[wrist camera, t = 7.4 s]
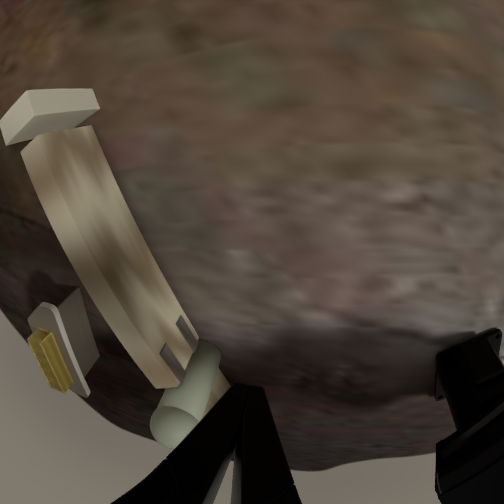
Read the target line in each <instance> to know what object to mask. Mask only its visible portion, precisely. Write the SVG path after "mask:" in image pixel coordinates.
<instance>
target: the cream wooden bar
mask: <svg viewBox="0 0 504 504" xmlns="http://www.w3.org/2000/svg"><path fill="white" fill-rule="evenodd" d="M21 155H22V158H23V161H24V163H25V166H26V169H27V171H28V174H29V176H30V179H31V181H32V184H33V186H34V188H35V191H36V193H37V195H38V198H39V200H40V202H41V204H42V207H43V209H44V211H45V213H46V215H47V217H48V220H49V222H50V224H51V226H52V228H53V230H54V232H55V234H56V236H57V238H58V240H59V242H60V244H61V246H62V248H63V249H64V251H65V253H66V255H67V257H68V259H69V261H70V262H71V264H72V266H73V268H74V270H75V271H76V273H77V275H78V277H79V278H80V280H81V282H82V283H83V285H84V287H85V288H86V290H87V292H88V293H89V295H90V297H91V298H92V300H93V302H94V303H95V305H96V306H97V308H98V309H99V311H100V313H101V314H102V316H103V317H104V319H105V320H106V322H107V323H108V325H109V326H110V328H111V329H112V331H113V332H114V333H115V335H116V336H117V338H118V339H119V341H120V342H121V343H122V345H123V346H124V348H125V349H126V350H127V352H128V353H129V355H130V356H131V357H132V359H133V360H134V361H135V363H136V364H137V365H138V367H139V368H140V369H141V370H142V372H143V373H144V374H145V376H146V377H147V378H148V379H149V381H150V382H151V383H152V384H153V386H154V387H155V388H156V389H158V388H171V387H178V386H179V384H180V383H182V382H183V380H184V377H185V375H186V371H185V369H186V367H187V364H188V362H189V360H190V357H191V355H192V353H194V352H195V351H196V348H197V346H198V344H199V343H198V339H199V336H198V335H197V333H196V331H195V330H194V328H193V326H192V325H191V323H190V321H189V320H188V318H187V316H186V315H185V313H184V311H183V309H182V308H181V306H180V304H179V303H178V301H177V299H176V297H175V296H174V294H173V292H172V290H171V289H170V287H169V285H168V283H167V281H166V280H165V278H164V276H163V274H162V272H161V271H160V269H159V267H158V265H157V263H156V261H155V259H154V258H153V256H152V254H151V252H150V250H149V248H148V246H147V244H146V242H145V240H144V238H143V236H142V234H141V232H140V231H139V229H138V227H137V225H136V223H135V221H134V219H133V216H132V214H131V212H130V210H129V208H128V206H127V204H126V202H125V200H124V198H123V196H122V194H121V191H120V189H119V187H118V185H117V183H116V181H115V178H114V176H113V174H112V172H111V170H110V167H109V165H108V163H107V160H106V158H105V156H104V154H103V151H102V149H101V146H100V144H99V142H98V139H97V137H96V134H95V132H94V130H93V127H92V125H90V126H84V127H78V128H72V129H66V130H61V131H55V132H50V133H45V134H41V135H37V136H36V137H35V138H34V139H33V140H32V141H31V142H30V143H29V144H28V145H27V146H26V147H25V148H24V149H23V150H22V151H21Z"/></svg>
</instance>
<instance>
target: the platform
mask: <svg viewBox="0 0 504 504" xmlns="http://www.w3.org/2000/svg"><path fill="white" fill-rule="evenodd" d="M28 322H29V325H30V327H31V330H32V332H33V333H32V335H31V336H30V337H29V338H28V339H27V340H28V343H29V345H30V347H31V349H32V351H33V350H34V349H35V348H36V347H37V348H36V349H35V350H34V351H33V353H34V356H35V358H36V360H37V362H38V364H39V366H40V368H41V370H42V372H43V374H44V376H45V377H46V379H47V381H48V383H49V385H50V387H51V388H53V389H55V390H57V391H60V390H61V389H62V390H61V391H60V392H62V393H64V394H65V392H66V391H67V389H68V388H69V389H70V390H72V391H73V392H75V393H76V394H78V395H81V396H83V397H86V398H87V397H88V396H89V394H90V390H89V388H88V385H87V383H86V381H85V379H84V378H85V376H86V375H87V373H88V372H89V370H90V369H91V368H92V366H93V365H94V363H95V362H96V361H97V359H98V358H99V356H100V355H99V352H98V349H97V346H96V343H95V340H94V337H93V334H92V331H91V327H90V324H89V321H88V317H87V314H86V310H85V306H84V303H83V299H82V295H81V291H80V287H77V288H76V289H75V290H74V291H73V292H72V293H71V294H70V295H69V296H68V297H67V298H65V299H64V300H63V301H62V302H61V303H60V304H59V305H58V306H57V307H56V306H55V305H53V304H50V303H46V302H42V303H41V304H40V305H39V306H38V307H37V308H36V309H35V311H34V312H33V313H32V314H31V315H30V316H29V318H28ZM45 332H46V333H45ZM50 334H51V335H50ZM33 337H34V338H33ZM32 338H33V339H32ZM31 339H32V340H31ZM30 340H31V341H30ZM35 340H36V341H35ZM29 341H30V342H29ZM34 341H35V342H34ZM31 342H32V343H31ZM33 342H34V343H33ZM30 343H31V344H30ZM34 344H35V345H34ZM36 344H37V345H36ZM33 345H34V346H33ZM32 346H33V347H32ZM38 347H39V348H38ZM53 350H54V351H53ZM37 351H38V352H37ZM36 352H37V353H36ZM35 353H36V354H35ZM41 354H42V355H41ZM38 355H39V356H38ZM37 356H38V357H37ZM42 358H43V359H42ZM39 359H40V360H39ZM41 359H42V360H41ZM38 360H39V361H38ZM40 363H41V364H40ZM42 363H43V364H42ZM44 363H45V364H44ZM42 368H43V369H42ZM44 368H45V369H44ZM46 368H47V369H46ZM48 368H49V369H48ZM62 368H63V369H62ZM64 368H65V369H64ZM46 373H47V374H46ZM48 373H49V374H50V375H49V374H48ZM52 375H53V376H52ZM50 380H51V381H50ZM53 381H54V382H53ZM56 382H57V383H56ZM58 382H59V383H58ZM52 385H53V386H54V387H53V386H52ZM55 386H56V387H55ZM57 386H58V387H57ZM59 386H60V387H59ZM59 389H60V390H59Z"/></svg>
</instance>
